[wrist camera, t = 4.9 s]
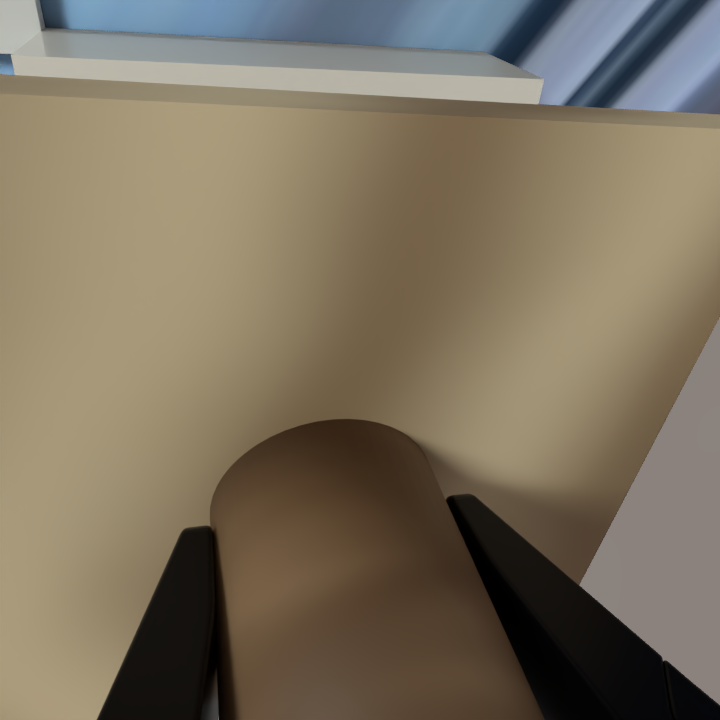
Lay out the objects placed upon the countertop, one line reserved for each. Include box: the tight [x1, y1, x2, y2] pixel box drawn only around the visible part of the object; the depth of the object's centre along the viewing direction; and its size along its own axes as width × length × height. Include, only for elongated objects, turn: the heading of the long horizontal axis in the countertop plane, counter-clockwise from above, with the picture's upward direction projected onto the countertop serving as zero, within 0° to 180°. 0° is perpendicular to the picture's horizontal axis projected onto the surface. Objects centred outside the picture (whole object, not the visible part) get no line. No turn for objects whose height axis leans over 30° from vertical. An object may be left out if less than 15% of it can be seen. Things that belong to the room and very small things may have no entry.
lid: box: [0, 74, 720, 720], centre depth 8 cm, size 12×12×6 cm
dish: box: [11, 28, 544, 104], centre depth 17 cm, size 11×11×4 cm
